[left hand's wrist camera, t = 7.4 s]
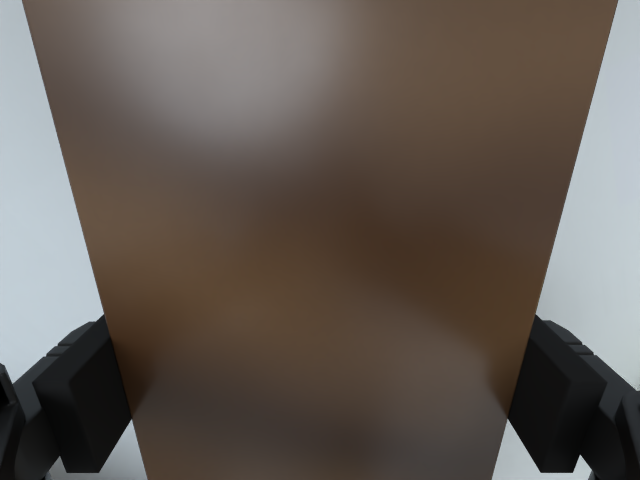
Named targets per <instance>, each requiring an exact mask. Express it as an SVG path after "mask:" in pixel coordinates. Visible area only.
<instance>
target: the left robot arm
mask: <svg viewBox="0 0 640 480" xmlns="http://www.w3.org/2000/svg"><path fill="white" fill-rule="evenodd" d="M131 419H132V418H131V414H130V410H129V406H128V403H127V399H126V395H125V391H124V387H123V384H122V380H121V376H120V372H119V368H118V365H117V361H116V357H115V353H114V349H113V345H112V342H111V338H110V334H109V330H108V326H107V323H106V319H105V315H103V316H101V317H100V318H99V319H98V320H97V321H96V322H88V323H86V324H84V325H83V326H81V327H79V328H77V329H76V330H74V331H72V332H71V333H69V334H68V335H67V336H66V337H65V338H64V339H63V340H62V341H60V342H59V343H58V346H55V347H54V348H53V349H52V350H50V351H49V352H48V353H47V355H46V357H43V358H41V359H40V360H39V361H38V362H37V363H36V364H35V365H34V366H32V367H31V368H30V369H29V370H28V371H27V372H26V373H25V374H23V375H22V376H21V377H20V378H19V379H18V380H17V381H16V382H15V383H13V384H12V382H11V380H10V377H9V375H8V372H7V370H6V368H5V366H4V365H2V364H1V363H0V480H51V476H50V474H49V469H50V468H51V467H52V465H53V464H54V463H55V461H56V460H57V459H58V457H59V456H60V457H61V459H62V462H63V465H64V467H65V470H66V472H67V473H99V472H100V470H101V468H102V467H103V465H104V463H105V462H106V460H107V458H108V457H109V455H110V454H111V452H112V450H113V449H114V447H115V445H116V444H117V442H118V440H119V439H120V437H121V435H122V434H123V432H124V431H125V429H126V427H127V426H128V424H129V422H130V421H131ZM508 420H509V421H510V423H511V425H512V426H513V428H514V430H515V431H516V433H517V434H518V436H519V438H520V439H521V441H522V443H523V444H524V446H525V448H526V449H527V451H528V453H529V454H530V456H531V457H532V459H533V461H534V462H535V464H536V466H537V467H538V469H539V471H540V472H541V473H573V471H574V469H575V466H576V463H577V461H578V458H579V456H580V455H581V456H582V457H583V459H584V460H585V461H586V463H587V464H588V465H589V467H590V468H591V469H592V471H591V474H590V476H589V479H588V480H640V391H636V390H635V389H634V388H633V387H632V386H631V385H629V384H628V383H627V382H626V381H625V380H624V379H623V378H622V377H620V376H619V375H618V374H617V373H616V372H615V371H614V370H612V369H611V368H610V367H609V366H608V365H607V364H606V363H605V362H603V361H602V360H601V359H600V358H599V357H598V356H597V355H594V354H593V352H592V351H591V350H590V349H589V348H588V347H587V346H585V345H582V342H581V341H580V340H579V339H578V338H576V337H575V336H574V335H573V334H572V333H571V332H570V331H568V330H567V329H565V328H563V327H561V326H559V325H558V324H556V323H554V322H552V321H551V320H541V319H540V318H539V317H538V316H537V315H536V314H535V317H534V321H533V325H532V328H531V332H530V336H529V340H528V343H527V347H526V351H525V355H524V359H523V362H522V366H521V370H520V374H519V377H518V381H517V385H516V389H515V393H514V396H513V400H512V404H511V408H510V412H509V415H508Z"/></svg>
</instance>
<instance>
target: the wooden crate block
mask: <svg viewBox="0 0 640 480" xmlns="http://www.w3.org/2000/svg"><path fill="white" fill-rule="evenodd" d="M22 3H23V6H24V10H25V14H26V18H27V22H28V25H29V29H30V33H31V37H32V41H33V45H34V48H35V52H36V56H37V60H38V64H39V67H40V71H41V75H42V79H43V83H44V86H45V90H46V94H47V98H48V102H49V105H50V109H51V113H52V117H53V121H54V125H55V128H56V132H57V136H58V140H59V144H60V147H61V151H62V155H63V159H64V163H65V166H66V170H67V174H68V178H69V182H70V185H71V189H72V193H73V197H74V201H75V205H76V208H77V212H78V216H79V220H80V224H81V227H82V231H83V235H84V239H85V243H86V246H87V250H88V254H89V258H90V262H91V265H92V269H93V273H94V277H95V281H96V285H97V288H98V292H99V296H100V300H101V304H102V307H103V311H104V315H105V319H106V323H107V326H108V330H109V334H110V338H111V342H112V345H113V349H114V353H115V357H116V361H117V365H118V368H119V372H120V376H121V380H122V384H123V387H124V391H125V395H126V399H127V403H128V406H129V410H130V414H131V418H132V422H133V425H134V429H135V433H136V437H137V441H138V445H139V448H140V452H141V456H142V460H143V464H144V467H145V471H146V475H147V479H148V480H492V476H493V472H494V468H495V464H496V461H497V457H498V453H499V449H500V446H501V442H502V438H503V434H504V430H505V427H506V423H507V419H508V415H509V412H510V408H511V404H512V400H513V396H514V393H515V389H516V385H517V381H518V377H519V374H520V370H521V366H522V362H523V359H524V355H525V351H526V347H527V343H528V340H529V336H530V332H531V328H532V325H533V321H534V317H535V313H536V309H537V306H538V302H539V298H540V294H541V290H542V287H543V283H544V279H545V275H546V272H547V268H548V264H549V260H550V256H551V253H552V249H553V245H554V241H555V238H556V234H557V230H558V226H559V222H560V219H561V215H562V211H563V207H564V203H565V200H566V196H567V192H568V188H569V185H570V181H571V177H572V173H573V169H574V166H575V162H576V158H577V154H578V151H579V147H580V143H581V139H582V135H583V132H584V128H585V124H586V120H587V116H588V113H589V109H590V105H591V101H592V98H593V94H594V90H595V86H596V82H597V79H598V75H599V71H600V67H601V64H602V60H603V56H604V52H605V48H606V45H607V41H608V37H609V33H610V30H611V26H612V22H613V18H614V14H615V11H616V7H617V3H618V0H22Z"/></svg>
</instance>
